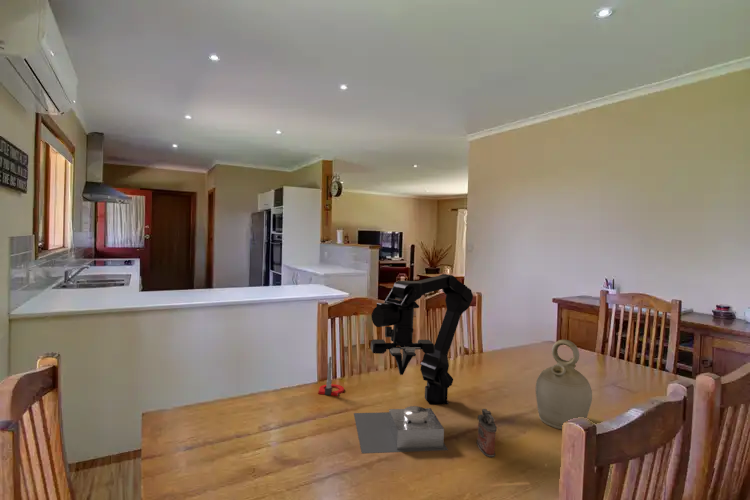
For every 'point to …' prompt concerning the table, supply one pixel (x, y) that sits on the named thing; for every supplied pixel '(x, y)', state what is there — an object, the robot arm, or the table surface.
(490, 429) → the lighter
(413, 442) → the hitch block
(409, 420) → the silver door knob
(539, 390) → the jug
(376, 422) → the mat
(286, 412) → the table surface
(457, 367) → the table surface
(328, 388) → the tow hook
